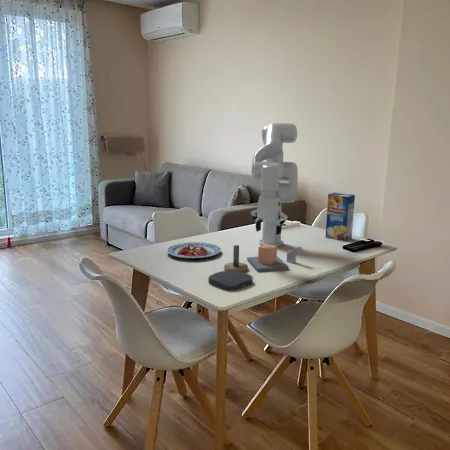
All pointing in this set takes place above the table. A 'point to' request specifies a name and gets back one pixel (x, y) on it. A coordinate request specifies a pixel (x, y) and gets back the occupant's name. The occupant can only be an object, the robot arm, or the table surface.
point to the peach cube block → (267, 254)
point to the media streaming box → (230, 280)
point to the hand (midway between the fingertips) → (268, 232)
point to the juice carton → (340, 216)
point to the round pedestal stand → (236, 262)
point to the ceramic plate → (193, 250)
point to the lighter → (293, 255)
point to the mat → (267, 265)
